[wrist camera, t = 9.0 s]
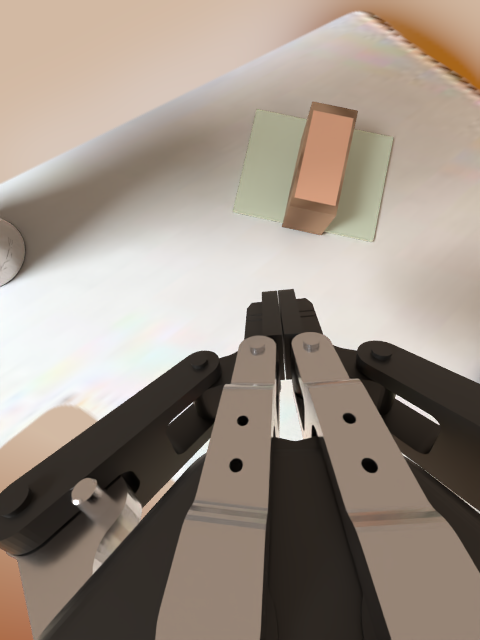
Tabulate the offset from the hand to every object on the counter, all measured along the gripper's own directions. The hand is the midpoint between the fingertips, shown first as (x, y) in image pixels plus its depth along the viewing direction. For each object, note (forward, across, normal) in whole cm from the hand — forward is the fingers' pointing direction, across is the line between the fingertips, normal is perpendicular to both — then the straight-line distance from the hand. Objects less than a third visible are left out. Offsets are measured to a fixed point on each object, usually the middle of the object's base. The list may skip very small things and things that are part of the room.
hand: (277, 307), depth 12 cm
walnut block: (+20, -4, +1) cm, 20 cm away
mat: (+27, -6, -3) cm, 28 cm away
